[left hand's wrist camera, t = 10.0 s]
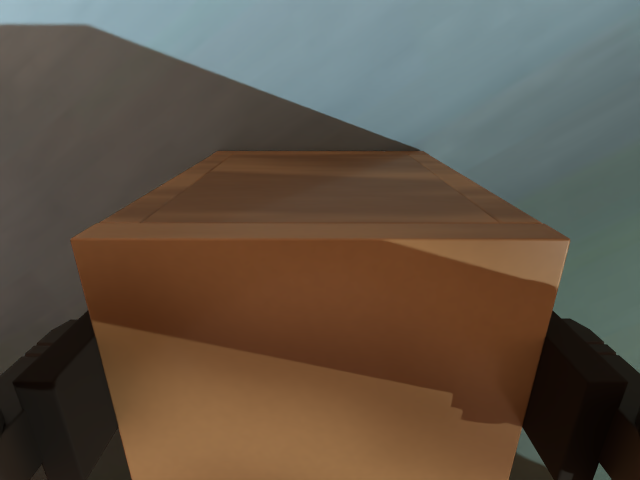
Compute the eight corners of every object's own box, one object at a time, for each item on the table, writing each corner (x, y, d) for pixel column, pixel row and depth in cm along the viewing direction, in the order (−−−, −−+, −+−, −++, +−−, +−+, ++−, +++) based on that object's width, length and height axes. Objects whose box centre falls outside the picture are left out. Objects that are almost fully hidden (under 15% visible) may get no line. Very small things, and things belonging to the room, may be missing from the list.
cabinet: (393, 461, 26) (445, 727, 15) (247, 461, 26) (194, 727, 15) (423, 150, 19) (572, 238, 8) (216, 150, 19) (69, 238, 8)
